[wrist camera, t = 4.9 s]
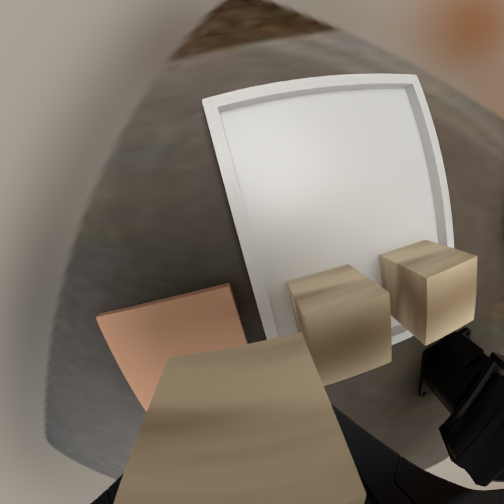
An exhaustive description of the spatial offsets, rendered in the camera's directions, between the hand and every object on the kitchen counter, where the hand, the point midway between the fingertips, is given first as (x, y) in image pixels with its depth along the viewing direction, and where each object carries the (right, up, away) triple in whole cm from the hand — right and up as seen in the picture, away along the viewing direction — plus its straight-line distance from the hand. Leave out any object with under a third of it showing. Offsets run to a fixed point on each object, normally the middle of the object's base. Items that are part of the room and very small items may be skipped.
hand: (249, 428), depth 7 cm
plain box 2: (+12, +4, +11) cm, 17 cm away
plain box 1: (+5, +2, +11) cm, 13 cm away
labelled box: (0, 0, +2) cm, 2 cm away
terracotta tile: (-5, -5, +13) cm, 15 cm away
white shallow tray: (+7, +8, +11) cm, 15 cm away
